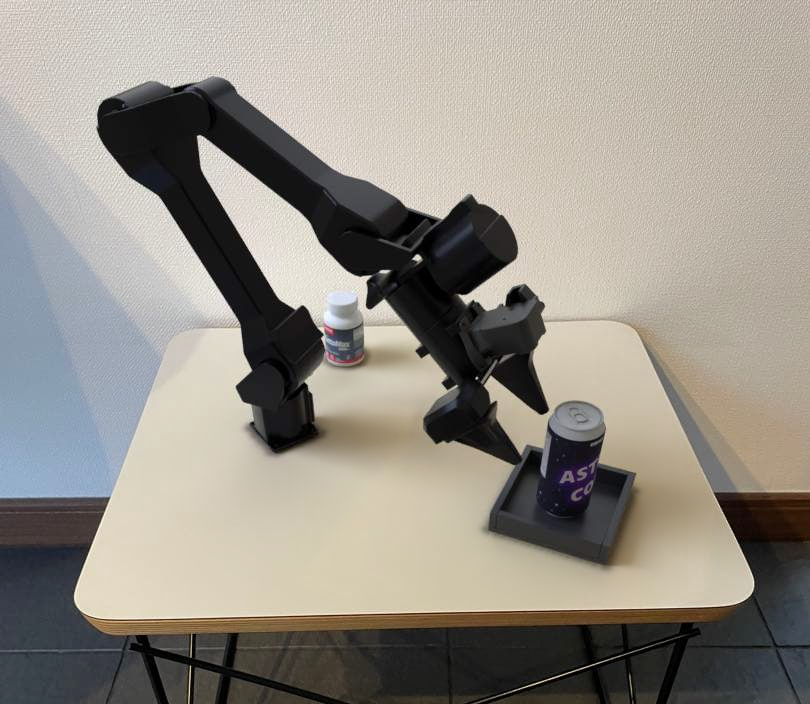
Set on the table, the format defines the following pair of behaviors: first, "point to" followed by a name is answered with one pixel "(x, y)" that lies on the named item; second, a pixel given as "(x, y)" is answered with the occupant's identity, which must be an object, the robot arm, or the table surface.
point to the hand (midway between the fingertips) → (532, 437)
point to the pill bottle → (344, 329)
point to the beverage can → (570, 458)
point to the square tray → (571, 535)
